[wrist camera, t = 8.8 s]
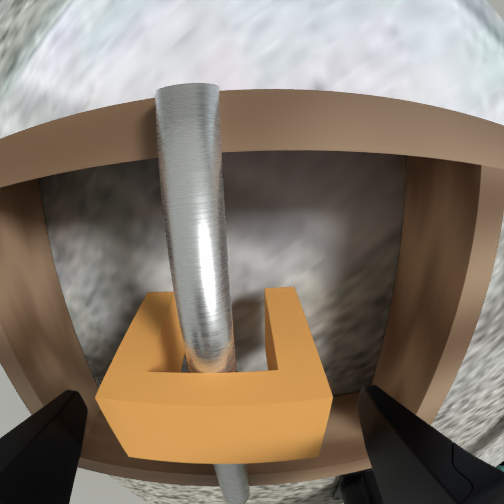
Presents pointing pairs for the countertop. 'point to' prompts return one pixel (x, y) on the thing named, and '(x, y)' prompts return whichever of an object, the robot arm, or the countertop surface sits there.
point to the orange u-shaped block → (217, 392)
